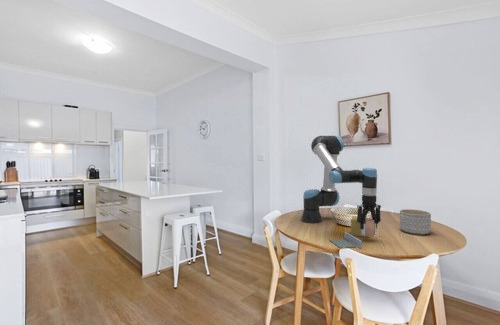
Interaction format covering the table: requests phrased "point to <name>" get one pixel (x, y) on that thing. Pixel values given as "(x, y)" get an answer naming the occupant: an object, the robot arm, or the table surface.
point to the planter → (415, 221)
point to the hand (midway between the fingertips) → (368, 234)
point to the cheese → (356, 227)
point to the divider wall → (353, 240)
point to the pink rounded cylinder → (369, 227)
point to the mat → (342, 243)
